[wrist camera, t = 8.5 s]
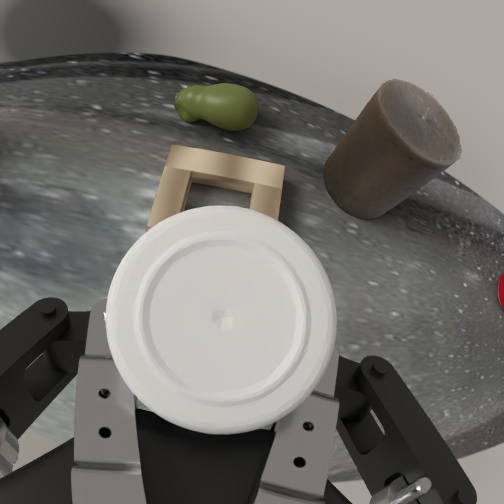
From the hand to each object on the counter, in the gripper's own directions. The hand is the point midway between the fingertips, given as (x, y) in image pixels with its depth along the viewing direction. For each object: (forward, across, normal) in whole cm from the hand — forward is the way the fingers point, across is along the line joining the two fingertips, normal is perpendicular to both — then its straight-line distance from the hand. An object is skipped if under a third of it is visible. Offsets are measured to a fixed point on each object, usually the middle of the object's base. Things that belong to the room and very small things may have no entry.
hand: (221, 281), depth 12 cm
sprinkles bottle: (+3, 0, +6) cm, 7 cm away
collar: (+19, +2, +5) cm, 20 cm away
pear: (+29, +4, -3) cm, 29 cm away
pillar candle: (+25, -15, 0) cm, 29 cm away
